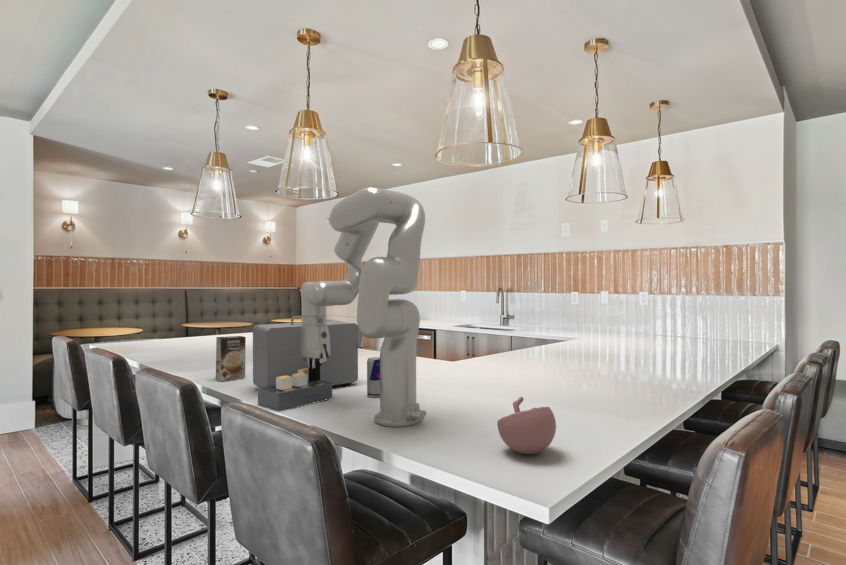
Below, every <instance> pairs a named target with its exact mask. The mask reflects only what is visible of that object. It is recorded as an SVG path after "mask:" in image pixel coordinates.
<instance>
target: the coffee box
mask: <svg viewBox="0 0 846 565" xmlns="http://www.w3.org/2000/svg"><path fill="white" fill-rule="evenodd" d="M215 344H216V345H215V346H216V347H215V350H216V351H215V380H216V381H218V382H220V381H221V382H222V381H224V382H230V380H232V381H238V380H237V379H240V380H245V379H246V336H242V335H236V336H235V335H232V336H216V343H215ZM244 378H245V379H244ZM222 383H223V382H222Z"/></svg>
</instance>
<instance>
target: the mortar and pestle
mask: <svg viewBox="0 0 846 565" xmlns="http://www.w3.org/2000/svg"><path fill="white" fill-rule="evenodd" d="M523 402H524V397H523V396H519V397H518V399H517V400H514V401H513V402H512V407H513V410H514V411H513V412H514V413H511V414H509V415H505V416H503V417H501V418H500V419H498V420H497V424H496V425H497V430H498V434H499V436H500V438H501V440H502V441H503V443H504V444H505V445H506V447H508V448H509V449H511V450H513V451H514V452H515V453H516V452H517V453H518V454H521V455H534V454H535V455H536V454H539V453H541V452H543V451H544V450H546V449H547V448H548V447H549V446H550V445H551V443H552V442H553V440H554V438H555V435H556V432H557V423H556V417H555V414H554V412H553V410H552V408H551V407H550V406H541V407H532V408H531V409H530V408H529V409H528V410H522V411H521V409H520V406H521V404H522V403H523Z"/></svg>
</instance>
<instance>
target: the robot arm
mask: <svg viewBox="0 0 846 565" xmlns="http://www.w3.org/2000/svg"><path fill="white" fill-rule="evenodd" d="M380 223H382V224H392V225H395V228H394V229H393V230H392V232H391V234H390V236H389V239H388V242H387V254H386V256H376V257H371V258H370V259H369V260H367V262H365V263H364V265H363V262H362V260H363V258H364V256H365V255H366V251H367V250H368V248H369V245H370V243H371V241H372V239H373V237H374V235H375V233H376V231H377V229H378V227H379V225H380ZM425 223H426V213H425V209H424V207H423V205H422V204H421V202H420V201H419V200H417V198H415V197H413V196H412V195H409V194H406V193H403V192H399V191H394V190H389V189H385V188H384V189H383V188H379V187H372V186H371V187H365V188H363V189H360V190H358V191H356V192H354V193H352V194H350V195H348V196H346V197H344V198H343V199H340V200H339V201H338V202H336V204H334V205H333V207H332V208H331V211H330V214H329V224H330V226H331V229H333V230H334V231H336V232H339V233H340V235H339V237H338V239H337V242H336V243H335V245H334V253H335V255H336V256H337V257H338V258H339V259H340V260H341V261H342V262H344V263H345V264H348V270H347V273H346V275H345V277H344V279H343V280H320V281H306V282H303V283H302V285H301V316H302V318H301V322H302V328H301V336H300V354H301V356H303V360H304V361H306V362H307V367H308V368H309V381H318V380H320V367H321V366H322V363H326V362H327V359H326V358H328V357H330V354H331V351H330V336H329V330H328V326H326V321H327V307H332V306H346V305H350V304H351V303H352V302H354V301H355V299H356V297H358V298H357V309H356V310H357V311H356V322H357V323H356V324H357V326H358V331H360V332H359V333H361V335H362V336H364V337H366V338H367V339H373V340H374V339H383V341H382V342H381V346H380V350H379V351H380V352H379V357H380V397H379V412H377V413H376V414H374V416H373V420H374V422H375V423H376V424H378V425H381V426H385V427H393V428H395V427H396V428H397V427H398V428H400V427H409V426H414V425H418V424H419V423H421V422H422V421H423V420H424V418H425V417H426V416H427V414H428V413H427V411H426V410H424V409H420V403H417V345H418V343H417V342H418V335H419V328H420V323H421V314H420V312H419V308H418V307H417V305H415V303H413V302H412V301H410V300H409V299H408V300H407V299H405V298H404V299H401V298H400V299H399V298H397V299H396V298H394V299H391V298H390V296H393V295H394V296H395V295H408V294H410V293H412V292H413V291H415V289H416V288H417V285H418V280H419V270H420V262H421V261H420V260H421V251H422V250H421V249H422V248H421V246H422V239H423V235H424V229H425ZM389 298H390V299H389Z"/></svg>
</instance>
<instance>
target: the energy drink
mask: <svg viewBox="0 0 846 565" xmlns="http://www.w3.org/2000/svg"><path fill="white" fill-rule="evenodd" d="M366 395H367V397H368V398H373V399H374V398H375V399H376V398H378V397H379V398H380V356H373V357H368V358H367V360H366ZM379 398H378V399H379Z"/></svg>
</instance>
